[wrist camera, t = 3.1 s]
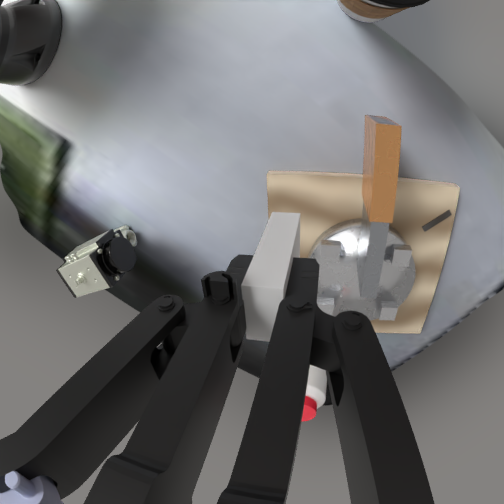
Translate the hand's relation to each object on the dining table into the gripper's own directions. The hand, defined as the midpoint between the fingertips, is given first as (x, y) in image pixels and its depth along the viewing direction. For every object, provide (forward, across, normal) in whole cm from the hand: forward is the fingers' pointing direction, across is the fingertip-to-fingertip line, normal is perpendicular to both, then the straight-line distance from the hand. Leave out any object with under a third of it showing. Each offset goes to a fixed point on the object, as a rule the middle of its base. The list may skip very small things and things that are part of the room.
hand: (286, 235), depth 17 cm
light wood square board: (+19, +7, -13) cm, 24 cm away
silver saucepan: (+17, +7, -7) cm, 20 cm away
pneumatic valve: (+19, -26, -11) cm, 34 cm away
